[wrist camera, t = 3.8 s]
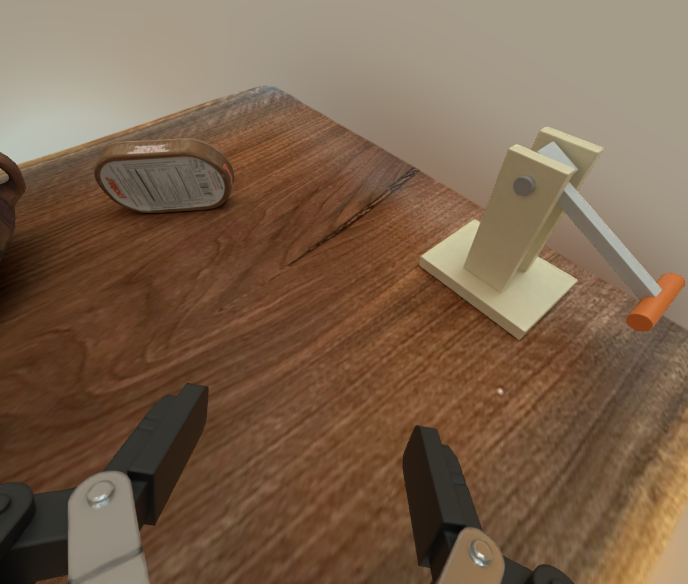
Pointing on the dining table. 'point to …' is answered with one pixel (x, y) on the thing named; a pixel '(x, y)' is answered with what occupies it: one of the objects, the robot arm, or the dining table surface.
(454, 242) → the cream lever stand
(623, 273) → the lever handle
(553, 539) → the dining table surface
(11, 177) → the vase
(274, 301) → the dining table surface
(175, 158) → the tin
